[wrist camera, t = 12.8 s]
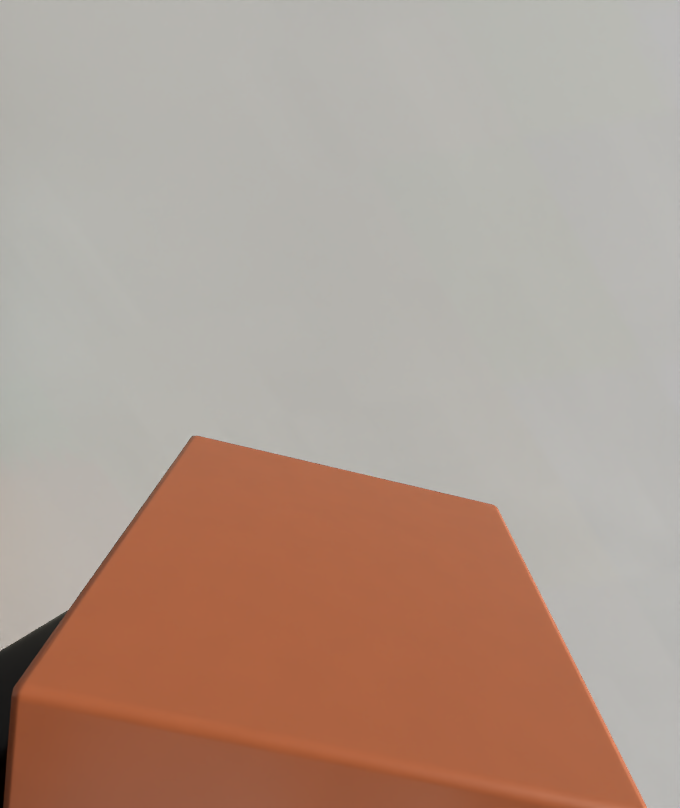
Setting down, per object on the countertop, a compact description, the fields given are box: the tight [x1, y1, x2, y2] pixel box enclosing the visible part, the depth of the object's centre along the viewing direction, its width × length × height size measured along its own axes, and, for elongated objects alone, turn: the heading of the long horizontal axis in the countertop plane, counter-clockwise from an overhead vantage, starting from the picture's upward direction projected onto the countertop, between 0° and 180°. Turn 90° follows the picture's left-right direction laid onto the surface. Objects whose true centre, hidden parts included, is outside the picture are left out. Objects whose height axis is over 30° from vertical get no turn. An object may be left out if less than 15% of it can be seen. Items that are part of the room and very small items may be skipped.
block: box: [3, 436, 647, 808], centre depth 6 cm, size 4×4×4 cm
